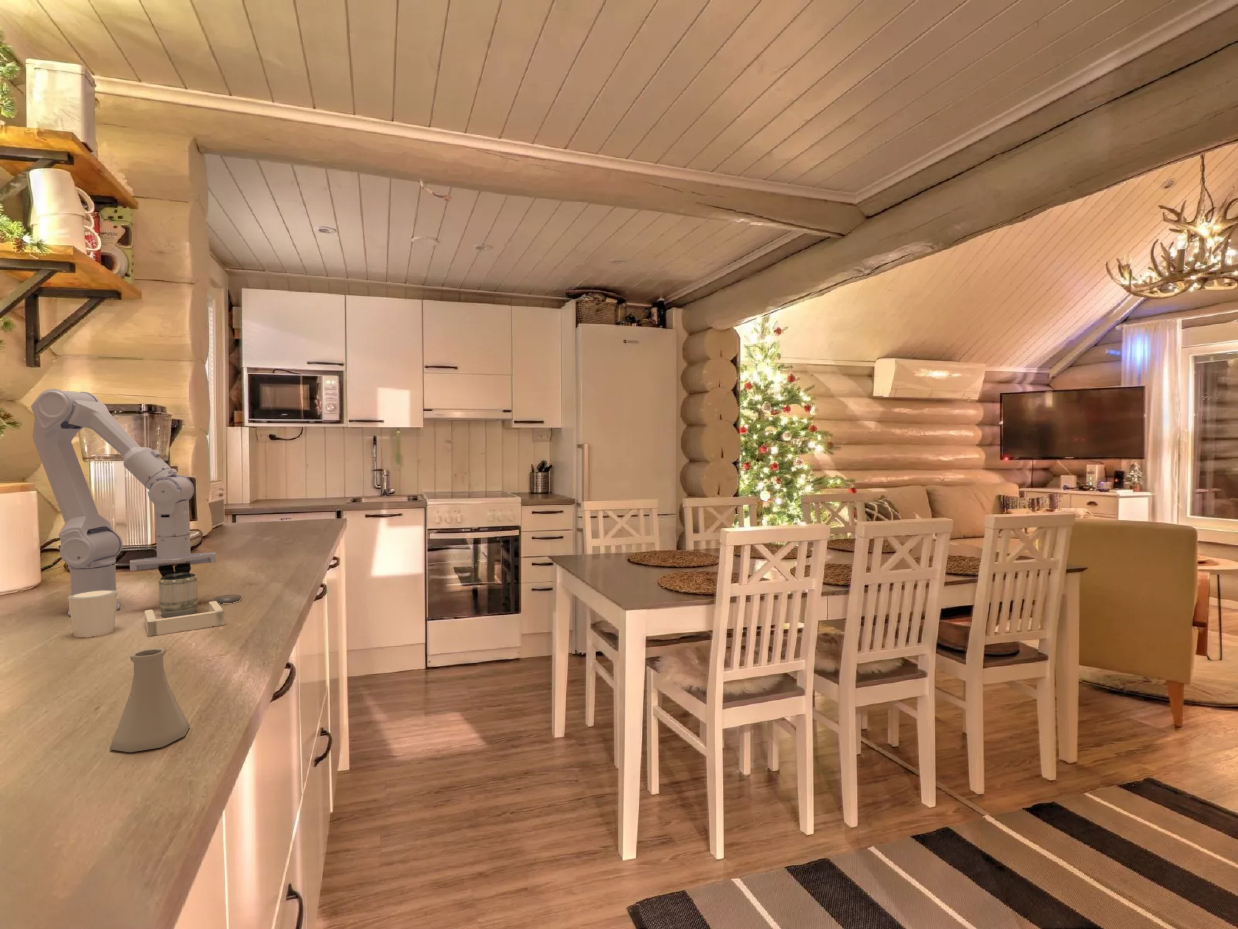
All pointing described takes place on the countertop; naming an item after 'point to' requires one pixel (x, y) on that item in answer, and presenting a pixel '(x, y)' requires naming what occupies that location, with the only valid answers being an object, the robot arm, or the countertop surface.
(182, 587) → the camera lens
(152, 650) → the flask
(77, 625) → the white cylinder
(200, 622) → the cradle
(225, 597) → the grey round disc
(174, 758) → the countertop surface
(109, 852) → the countertop surface
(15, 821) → the countertop surface
